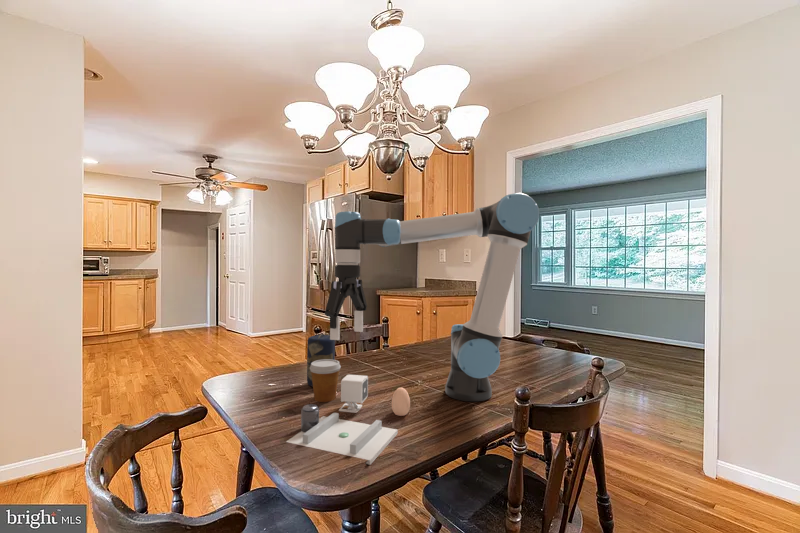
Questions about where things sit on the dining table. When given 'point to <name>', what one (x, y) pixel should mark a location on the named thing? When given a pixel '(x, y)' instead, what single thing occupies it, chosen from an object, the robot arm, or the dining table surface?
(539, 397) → the dining table surface
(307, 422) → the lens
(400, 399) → the egg
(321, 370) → the disposable coffee cup
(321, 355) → the canister
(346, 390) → the white rounded plastic box
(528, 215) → the robot arm
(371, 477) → the dining table surface
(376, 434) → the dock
